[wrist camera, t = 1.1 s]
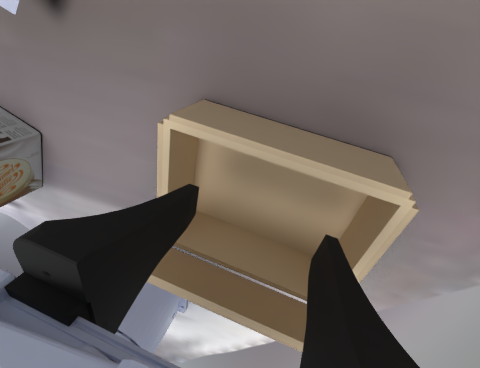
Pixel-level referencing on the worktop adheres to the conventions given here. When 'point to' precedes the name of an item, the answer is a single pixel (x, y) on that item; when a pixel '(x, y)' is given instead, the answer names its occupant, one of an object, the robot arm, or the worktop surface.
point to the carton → (278, 194)
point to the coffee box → (18, 158)
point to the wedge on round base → (10, 5)
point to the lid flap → (232, 297)
